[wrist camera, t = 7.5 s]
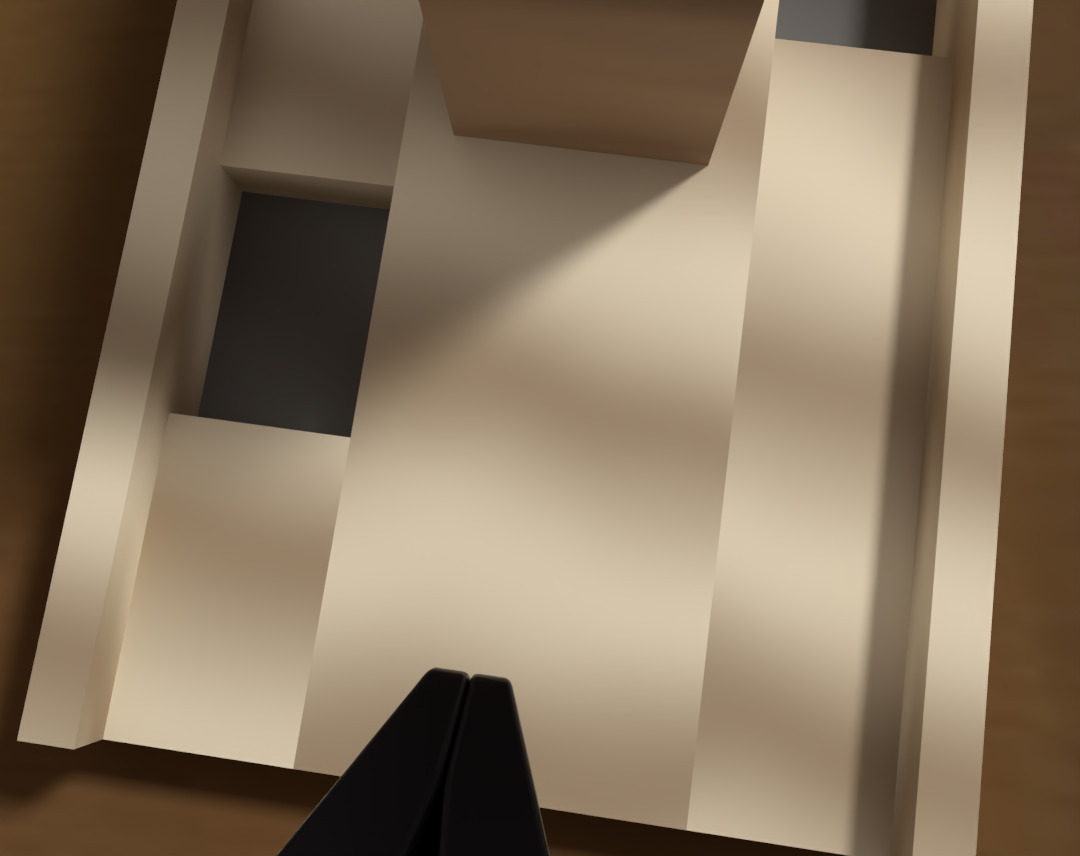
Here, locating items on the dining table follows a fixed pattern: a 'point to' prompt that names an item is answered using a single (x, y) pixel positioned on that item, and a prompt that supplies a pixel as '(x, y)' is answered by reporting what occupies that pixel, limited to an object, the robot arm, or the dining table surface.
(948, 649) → the box
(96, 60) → the dining table surface
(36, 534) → the dining table surface
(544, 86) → the block
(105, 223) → the dining table surface
